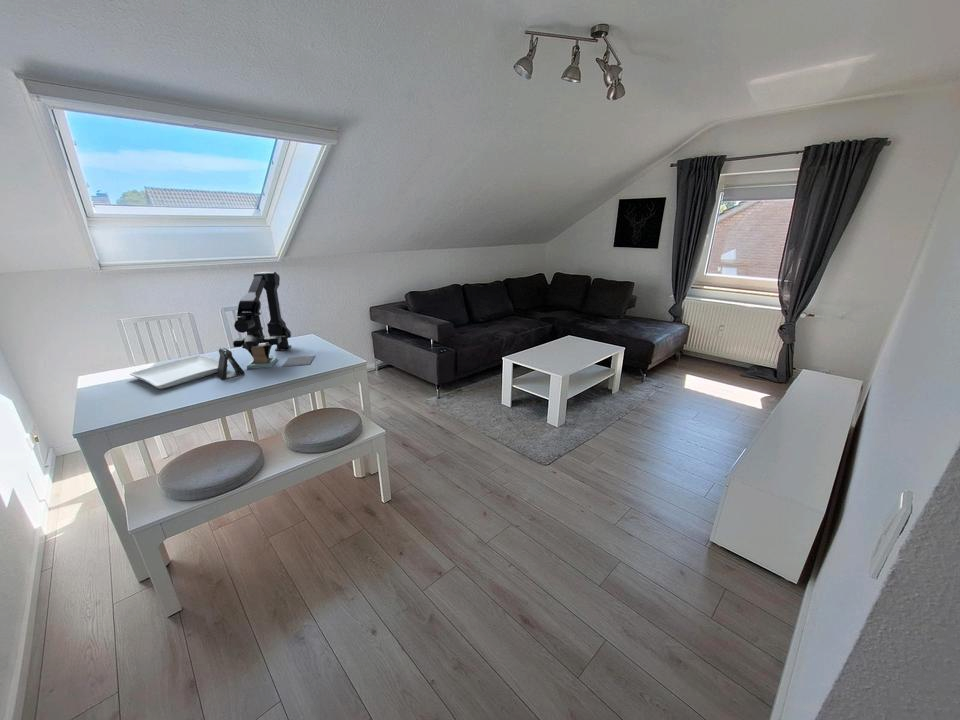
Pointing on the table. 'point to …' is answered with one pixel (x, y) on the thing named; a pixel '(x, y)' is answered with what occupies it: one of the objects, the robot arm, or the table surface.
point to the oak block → (259, 354)
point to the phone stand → (223, 365)
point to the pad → (298, 361)
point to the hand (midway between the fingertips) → (261, 358)
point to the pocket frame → (252, 365)
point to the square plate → (178, 371)
